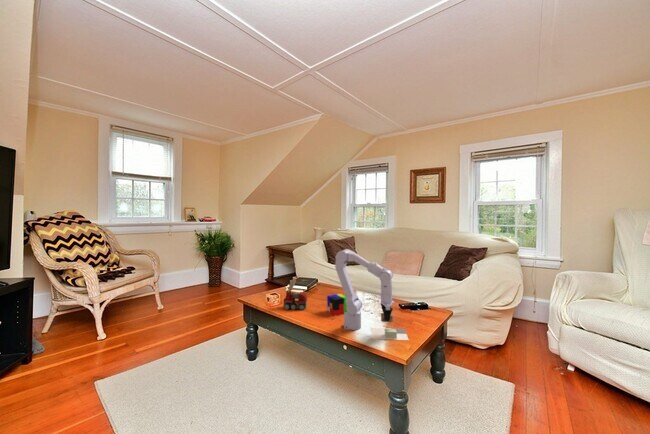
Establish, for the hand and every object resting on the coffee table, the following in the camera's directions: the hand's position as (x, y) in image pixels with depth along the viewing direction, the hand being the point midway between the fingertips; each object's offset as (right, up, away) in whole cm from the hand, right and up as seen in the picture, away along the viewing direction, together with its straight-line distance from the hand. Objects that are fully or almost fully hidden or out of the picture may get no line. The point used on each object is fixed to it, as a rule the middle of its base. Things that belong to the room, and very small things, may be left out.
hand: (386, 319), depth 143 cm
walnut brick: (0, -1, 0) cm, 1 cm away
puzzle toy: (-24, -9, +34) cm, 43 cm away
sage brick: (+1, -8, -3) cm, 8 cm away
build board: (+1, -9, 0) cm, 9 cm away
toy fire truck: (-52, -9, +44) cm, 69 cm away
